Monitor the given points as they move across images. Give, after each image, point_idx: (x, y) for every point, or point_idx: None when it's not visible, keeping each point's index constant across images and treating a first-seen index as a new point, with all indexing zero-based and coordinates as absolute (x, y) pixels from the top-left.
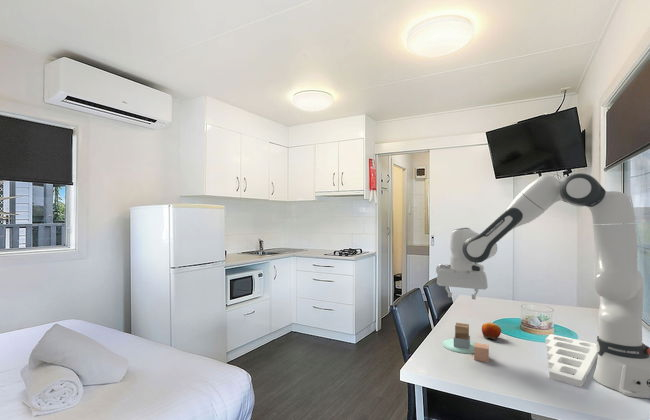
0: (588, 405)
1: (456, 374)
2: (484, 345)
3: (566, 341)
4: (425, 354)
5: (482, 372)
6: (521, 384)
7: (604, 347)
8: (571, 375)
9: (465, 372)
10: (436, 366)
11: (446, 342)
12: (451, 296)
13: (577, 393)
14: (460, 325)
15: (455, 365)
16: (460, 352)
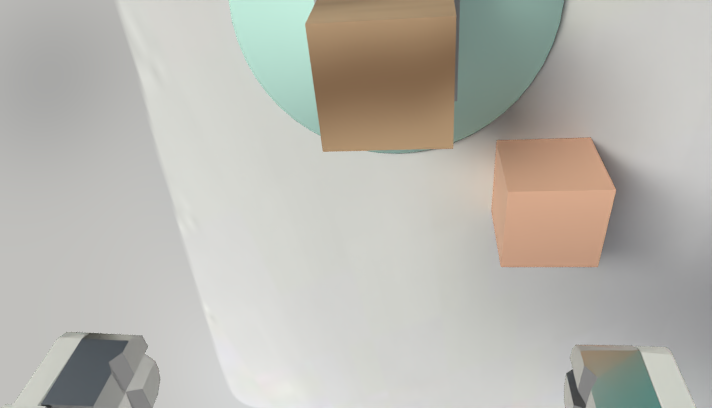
0: None
1: (418, 374)
2: (579, 217)
3: None
4: (226, 255)
5: (529, 327)
6: (691, 363)
7: None
8: None
9: (453, 350)
10: (323, 344)
11: (261, 5)
12: (155, 396)
13: None
14: (370, 114)
15: (400, 309)
16: (401, 152)
